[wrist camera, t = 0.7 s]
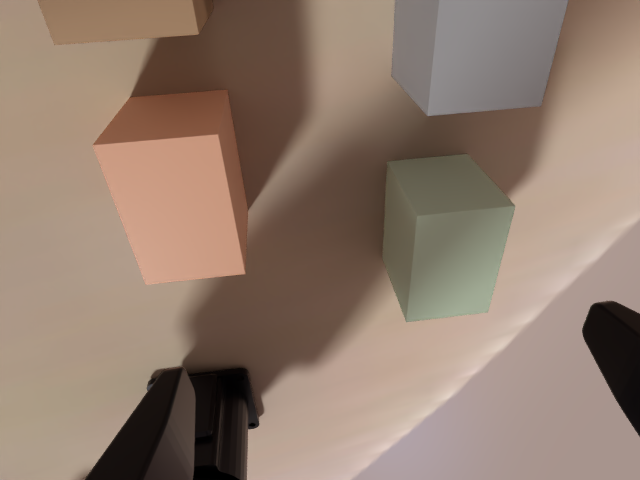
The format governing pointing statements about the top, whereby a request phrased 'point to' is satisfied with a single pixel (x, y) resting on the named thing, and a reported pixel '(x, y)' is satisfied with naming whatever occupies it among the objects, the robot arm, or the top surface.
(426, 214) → the sage brick
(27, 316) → the top surface
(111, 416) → the top surface
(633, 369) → the robot arm
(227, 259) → the terracotta brick
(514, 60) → the grey brick
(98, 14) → the walnut brick
